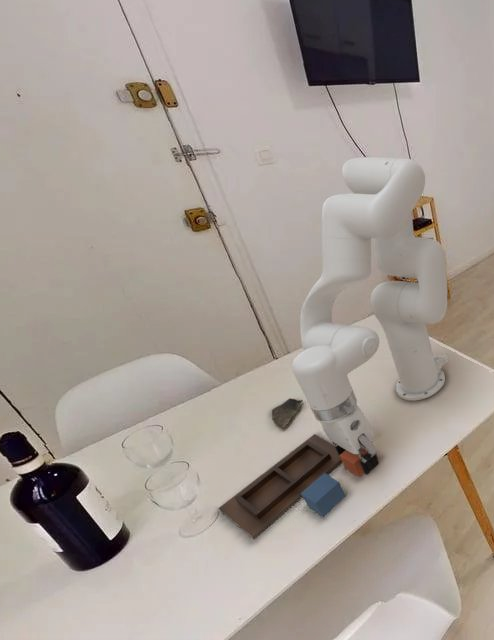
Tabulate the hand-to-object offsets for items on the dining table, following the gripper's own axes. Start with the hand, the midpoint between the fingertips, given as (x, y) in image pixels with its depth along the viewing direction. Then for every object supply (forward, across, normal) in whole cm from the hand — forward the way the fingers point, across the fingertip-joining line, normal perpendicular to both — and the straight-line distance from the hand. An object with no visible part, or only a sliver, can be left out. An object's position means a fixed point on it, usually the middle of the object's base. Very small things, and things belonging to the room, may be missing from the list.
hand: (359, 460), depth 89 cm
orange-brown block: (+1, 0, 0) cm, 1 cm away
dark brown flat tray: (+1, +10, +10) cm, 14 cm away
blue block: (+1, -1, +9) cm, 9 cm away
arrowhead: (+1, +29, -1) cm, 29 cm away
